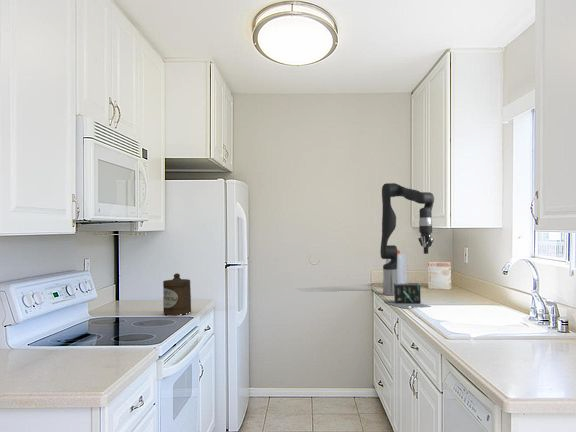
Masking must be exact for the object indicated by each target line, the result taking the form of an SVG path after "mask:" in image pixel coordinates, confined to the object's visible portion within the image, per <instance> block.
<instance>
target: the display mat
mask: <svg viewBox="0 0 576 432" xmlns="http://www.w3.org/2000/svg"><path fill="white" fill-rule="evenodd" d="M383 303H384V304H387V305H390V306H394V307H396V308H399V309H403V310H404V309H409V308H408V307H409V306H411V307H420V308H430V307H432V306H431V305H428V304H424V303H422V302H421V303H396V302H395V301H385V302H383Z"/></svg>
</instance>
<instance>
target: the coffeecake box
mask: <svg viewBox="0 0 576 432" xmlns="http://www.w3.org/2000/svg"><path fill="white" fill-rule="evenodd" d="M451 263H452V262H451V261H428V262H427V272H428V273H427V277H428V278H427V279H428V280H427V281H428V284H427V285H428V289H429V290H430V289H431V290H433V289H434V290H445V291H446V290H448V291H449V290H452V267H451V266H452V264H451Z"/></svg>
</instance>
